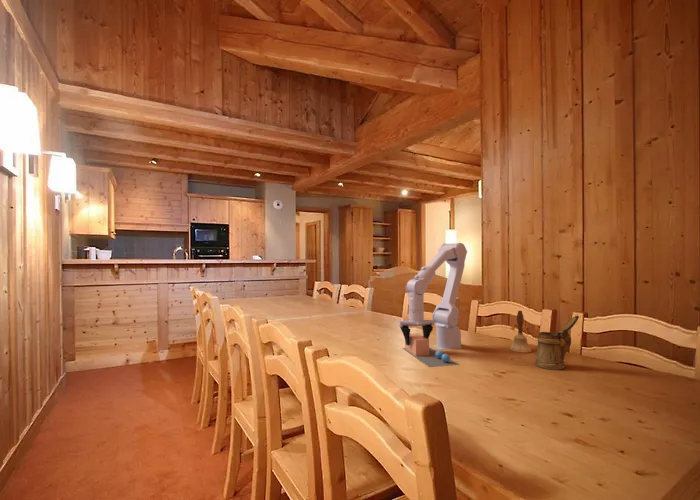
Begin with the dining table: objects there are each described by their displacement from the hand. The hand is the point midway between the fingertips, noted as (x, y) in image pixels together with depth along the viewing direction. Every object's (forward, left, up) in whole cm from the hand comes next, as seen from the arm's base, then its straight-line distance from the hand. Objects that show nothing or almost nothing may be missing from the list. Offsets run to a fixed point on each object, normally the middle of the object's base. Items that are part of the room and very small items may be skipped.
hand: (416, 344), depth 139 cm
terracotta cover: (0, 0, -3) cm, 3 cm away
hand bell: (-43, +5, -4) cm, 43 cm away
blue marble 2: (-4, +15, -3) cm, 16 cm away
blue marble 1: (-4, +11, -3) cm, 12 cm away
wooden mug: (-40, +27, -4) cm, 48 cm away
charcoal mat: (-2, +6, -3) cm, 7 cm away
